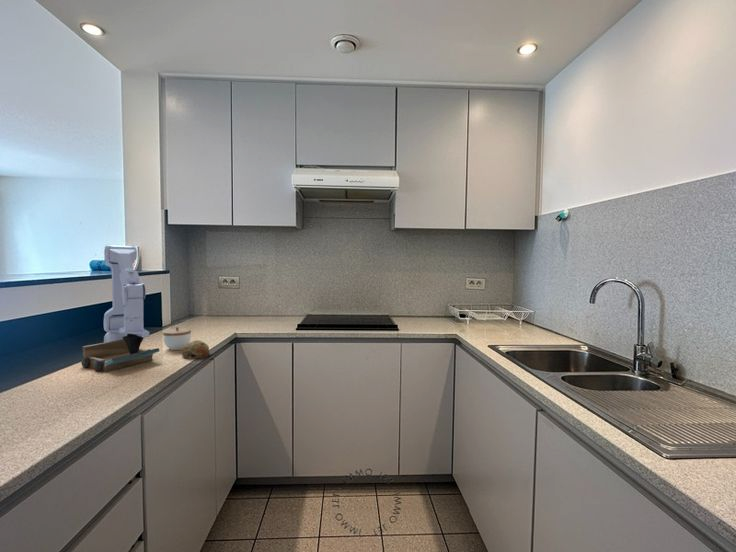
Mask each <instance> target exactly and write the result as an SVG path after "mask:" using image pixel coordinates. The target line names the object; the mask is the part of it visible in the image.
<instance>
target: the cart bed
mask: <svg viewBox="0 0 736 552" xmlns="http://www.w3.org/2000/svg"><path fill="white" fill-rule="evenodd" d="M148 350H152V349H150V348H148V349H144V348H141V347H139V351H138V353H139V352H143V351H148ZM125 355H130V353H129V349H128V346H127V344H126V342H125V341H124V339H121V340H116V341H110V342H105V343H104V342H100V343H95V344H89V345H84V346H82V358H81V361H80V362H81V363H80V364H81V366H82V368H84V369H87V368H90V369H94V370H95V372H100V371H101V372H105V373H106V372H111V371H115V370H118V369H123V368H126V367H130V366H133V365H137V364H143V363H146V362H150V361H153V356H154V354H153V355H149V356H145V357H141V358H136V359H132V360H128V361H124V362H120V363H115V364H111V365H107V366H106V362H108V361H110V360H111V359H113V358H116V357H121V356H125Z"/></svg>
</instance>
